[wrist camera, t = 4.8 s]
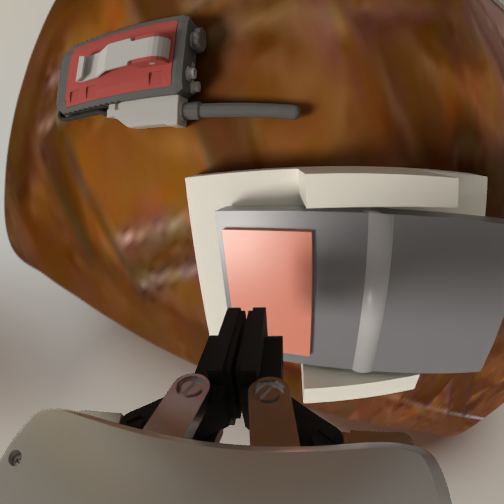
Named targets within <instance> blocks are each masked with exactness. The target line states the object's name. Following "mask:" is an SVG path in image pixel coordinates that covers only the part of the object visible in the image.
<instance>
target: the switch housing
mask: <svg viewBox="0 0 504 504" xmlns="http://www.w3.org/2000/svg"><path fill="white" fill-rule="evenodd" d="M185 181H186V189H187V198H188V206H189V213H190V221H191V228H192V235H193V242H194V249H195V255H196V262H197V268H198V274H199V280H200V286H201V292H202V297H203V303H204V308H205V314H206V319H207V324H208V329H209V334H210V335H218V334H219V331H220V328H221V325H222V323H223V320H224V317H225V314H226V311H227V304H226V296H225V289H224V282H223V274H222V267H221V259H220V251H219V243H218V234H217V226H216V217H215V211H216V210H219V209H221V208H223V207H226V206H306V208H338V207H384V208H391V209H406V210H421V211H434V212H446V213H457V214H468V215H477V216H485V212H486V199H487V177H486V176H481V175H476V174H471V173H464V172H455V171H445V170H433V169H420V168H403V167H378V166H310V167H284V168H266V169H251V170H239V171H228V172H217V173H208V174H199V175H194V176H190V177H186V178H185ZM301 369H302V387H303V403H316V402H329V401H340V400H350V399H358V398H365V397H372V396H379V395H385V394H391V393H396V392H401V391H406V390H411V389H414V388H415V385H416V383H417V380H418V378H419V375H420V373H397V372H378V371H371V372H368V373H359V372H356V371H354V370H352V369H341V368H332V367H323V366H315V365H308V364H301Z"/></svg>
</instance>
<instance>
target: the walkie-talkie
mask: <svg viewBox="0 0 504 504" xmlns="http://www.w3.org/2000/svg"><path fill="white" fill-rule="evenodd" d="M205 48H206V33H205V30H204V29H203V28H202V27H197V26H196V25H195V23H194V22H193V21H192V19H191V18H190V17H189V16H186V15H180V16H174V17H169V18H164V19H159V20H154V21H150V22H145V23H141V24H137V25H134V26H130V27H129V28H124V29H122V30H121V29H120V30H118V31H113V32H112V33H107V34H106V35H102V36H100V37H96V38H94V39H91V40H89V41H88V40H87V41H86V42H82V43H81V44H77V45H76V46H73V47H72V48H71V49H70V50H69V51H68V52H67V53H66V54H65V55H64V57H63V60H62V65H61V71H60V78H59V85H58V93H57V108H58V110H59V113H58V118H59V120H60V121H64V122H65V121H66V122H68V121H72V120H76V119H80V118H84V117H89V116H93V115H99V114H102V115H104V116H107V118H114V119H115V118H116V119H118V120H119V121H120V122H122V123H123V124H124V125H126V126H127V127H129V128H136V129H143V128H155V127H168V126H171V127H175V128H182V127H186V125H187V120H200V119H201V118H204V117H258V118H280V119H297V118H299V117H300V115H301V110H300V108H299V107H298V106H296V105H290V104H273V103H204V104H202V103H201V102H188V100H187V99H188V98H190V97H191V96H192V95H193V94H195V92H200V89H201V85H200V82H199V81H198V82H197V81H194V79H196V76H197V71H196V68H195V61H196V53H202V52H204V50H205ZM106 110H107V111H106ZM65 115H72V116H69V117H65Z"/></svg>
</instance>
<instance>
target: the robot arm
mask: <svg viewBox="0 0 504 504" xmlns="http://www.w3.org/2000/svg"><path fill="white" fill-rule="evenodd" d="M493 1H494V2H495V3H496V4H497V5H498V6H499V7H500V8H501V9H503V10H504V0H493ZM241 412H242V413H243V418H244V422H245V427H246V428H248V429H249V430H250V446H247V445H233V444H222V443H219V442H220V440H221V438H222V435H223V429H224V428H226V427H228V426H229V425H235V420H236V418H240V417H241ZM0 504H452V503H451V499H450V494H449V491H448V487H447V483H446V481H445V478H444V475H443V472H442V470H441V468H440V466H439V464H438V462H437V460H436V459H435V457H434V456H433V455H432V454H431V453H430V452H429V451H427V450H425V449H423V448H420V447H417V446H414V442H413V440H412V438H411V437H410V436H409V435H407V434H405V433H402V432H373V431H372V432H371V431H355V430H351V431H350V433H349V432H341V431H340V430H339V429H337V428H336V427H335V426H333V425H332V424H330V423H328V422H327V421H325V420H324V419H322V418H321V417H319V416H318V415H316V414H315V413H313V412H312V411H310V410H309V409H307V408H306V407H305V406H303V405H302V404H300V403H299V402H297V401H296V400H294V399H293V398H292V397H291V394H290V389H289V387H288V384H287V383H286V382H285V381H283V336H268V330H267V315H266V307H253V310H252V311H248V315H247V319H246V312H245V311H241V308H228V309H227V311H226V314H225V317H224V320H223V323H222V325H221V328H220V331H219V334H218V335H210V336H209V338H208V341H207V343H206V346H205V348H204V351H203V353H202V356H201V358H200V361H199V364H198V366H197V369H196V371H195V373H192V374H186V375H183V376H181V377H179V378H178V379H177V380H176V381H175V382H174V383H173V385H172V386H171V388H170V389H169V391H168V392H167V394H166V395H165V397H163V398H161V399H159V400H157V401H155V402H152V403H150V404H148V405H145V406H143V407H141V408H139V409H136V410H134V411H131V412H129V413H128V414H126V415H125V416H123V415H122V414H121V413H109V412H97V411H87V410H85V411H79V412H78V411H73V410H67V409H44V410H41V411H38V412H37V413H35V414H34V415H33V416H32V417H31V418H30V419H29V420H28V421H27V422H26V423H25V424H24V426H23V427H22V428H21V429H20V431H19V432H18V433H17V435H16V437H15V438H14V439H13V441H12V442H11V444H10V445H9V447H8V448H7V450H6V451H5V453H4V455H3V456H2V458H1V460H0Z"/></svg>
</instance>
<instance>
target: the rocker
mask: <svg viewBox="0 0 504 504" xmlns="http://www.w3.org/2000/svg"><path fill="white" fill-rule="evenodd" d="M215 217H216V226H217V234H218V243H219V251H220V259H221V267H222V274H223V282H224V289H225V296H226V304H227V309H228V308H241V311H245V312H246V319H247V315H248V311H252V310H253V307H266V315H267V330H268V336H283V361H288V362H294V363H301V364H308V365H315V366H323V367H332V368H341V369H352V370H354V371H356V372H359V373H368V372H371V371H378V372H397V373H464V372H480V371H481V369H482V367H483V365H484V363H485V361H486V359H487V356H488V354H489V352H490V350H491V347H492V345H493V343H494V340H495V338H496V335H497V333H498V330H499V328H500V325H501V322H502V319H503V316H504V219H503V218H495V217H486V216H477V215H468V214H457V213H446V212H434V211H421V210H406V209H391V208H384V207H338V208H306V206H226V207H223V208H221V209H219V210H216V211H215Z"/></svg>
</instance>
